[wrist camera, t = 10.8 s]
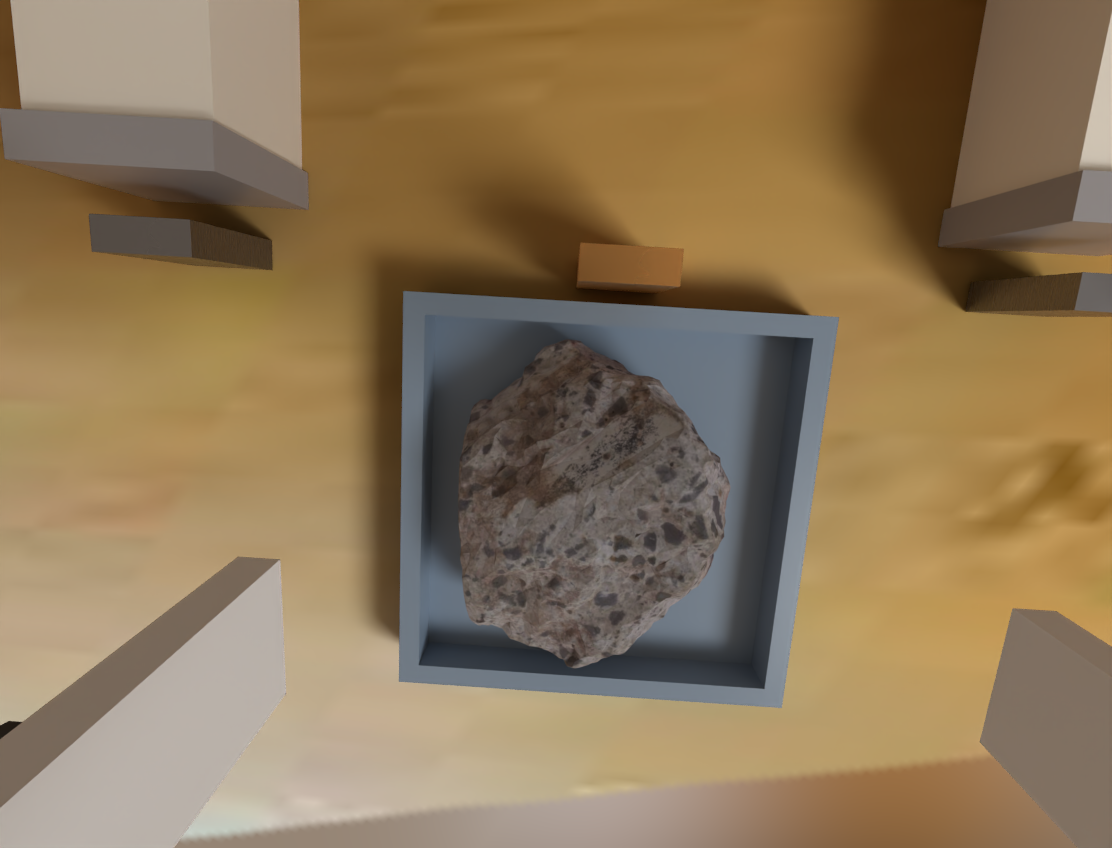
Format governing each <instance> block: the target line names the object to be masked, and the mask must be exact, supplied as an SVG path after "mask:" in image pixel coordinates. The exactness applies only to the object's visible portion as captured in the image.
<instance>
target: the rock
mask: <svg viewBox="0 0 1112 848" xmlns="http://www.w3.org/2000/svg"><path fill="white" fill-rule="evenodd" d="M730 488H731V487H730V483H729V480H728V478H727V476H726V474H725V472H724V470H723V468H722V466H721V460H720V457H719V456H718V455H716V454H715V453H713V452H711V451H710V450H709V449H708V447H707V446H706V444H705V443H704V441H703V440H702V439H701V437H700V436H699V435H698V433H697V431H696V429H695V427H694V425H693V423H692V421H691V420H690V418H689V417H688V416H687V414H686V413H685V412H684V411H683V410H682V409H681V408H680V407H679V406H678V405H677V403H676V401H675V400H674V398H673V396H672V395H671V394H669V393H668V391H667V390H666V389H665V388H664V387H663V385H662V383H661V382H660V380H658V379H655V378H653V377H650V376H641V375H635V374H633V373H631V372H629V371H628V370H627V369H626V368H625V367H624V365H623V364H621V363H619V362H618V361H616V360H613V359H610V358H608V357H606V356H605V355H602V354H599V353H596V352H594V351H593V350H591V349H590V348H589V347H587V346H585V345H584V344H583V343H582V342H581V341H579V340H569V339H566V340H563V341H560V342H558V343H555V344H552V345H549V346H545V347H544V348H543V349H542V350H540V351H539V352H538V353H537V354H536V356H535V359H534V361H533V362H531V363H530V364H529V365H527V366H526V367H525V369H524V372H523V376H522V377H521V378H519V379H517V380H515V381H514V382H513V383H512V384H511V385H510V386H508V387H507V388H505V389H503V390H502V391H501V392H500V393H498V394H497V395H496V396H495V397H494V398H493V399H492V400H489V399H482V400H480V401H478V402H477V403H476V404H475V405H474V406H473V408H472V410H471V415H470V420H469V423H468V425H467V428H466V432H465V435H464V441H463V448H462V453H461V457H460V463H459V488H458V508H459V510H458V522H459V535H460V543H461V553H460V561H461V565H462V583H463V593H464V599H465V604H466V609H467V612H468V615H469V618H470V620H471V621H472V622H474V623H475V624H477V625H479V626H480V625H488V626H489V625H494V626H496V627H499V628H502V629H503V630H504V631H505V633H506V634H507V635H508V637H509V638H510V639H513V640H516V641H519V642H521V643H524V644H526V645H528V646H535V647H539V648H542V649H545V650H547V651H549V652H551V653H553V654H554V655H556V656H557V657H558V658H560V659H563V660H564V662H565V664H566V666H568V667H571V668H579V667H583V666H587V665H589V664H591V663H595V662H598V661H599V660H600V659H602V658H607V657H610V656H612V655H621V654H623V653H625V652H626V651H627V650H628V649H629V648H630V647H631V646H632V644H633V643H634V642H635V641H636V640H637V639H638V638H639V637H640V636H642V635H643V634H644V633H645V632H646V631H647V630H649V629H650V628H651V626H652V624H653V623H654V622H656V621H658V620H660V619H662V618H663V617H664V616H665V614H666V613H667V611H668V609H669V608H670V606H672V605H673V604H675V603H677V602H678V601H679V600H681V599H682V598H683V597H684V596H686V595H687V594H688V593H689V592H690V591H691V590H693V589H694V588H696V587H698V586H699V584H700V583H701V581H702V579H703V578H704V577H705V576H706V575H707V573H708V570H709V569H710V567H711V564H712V561H713V559H714V552H716V551H717V549H718V547H719V544H720V542H721V541H722V539H723V538H724V527H725V523H726V520H725V509H726V501H727V498H728V495H729V492H730Z"/></svg>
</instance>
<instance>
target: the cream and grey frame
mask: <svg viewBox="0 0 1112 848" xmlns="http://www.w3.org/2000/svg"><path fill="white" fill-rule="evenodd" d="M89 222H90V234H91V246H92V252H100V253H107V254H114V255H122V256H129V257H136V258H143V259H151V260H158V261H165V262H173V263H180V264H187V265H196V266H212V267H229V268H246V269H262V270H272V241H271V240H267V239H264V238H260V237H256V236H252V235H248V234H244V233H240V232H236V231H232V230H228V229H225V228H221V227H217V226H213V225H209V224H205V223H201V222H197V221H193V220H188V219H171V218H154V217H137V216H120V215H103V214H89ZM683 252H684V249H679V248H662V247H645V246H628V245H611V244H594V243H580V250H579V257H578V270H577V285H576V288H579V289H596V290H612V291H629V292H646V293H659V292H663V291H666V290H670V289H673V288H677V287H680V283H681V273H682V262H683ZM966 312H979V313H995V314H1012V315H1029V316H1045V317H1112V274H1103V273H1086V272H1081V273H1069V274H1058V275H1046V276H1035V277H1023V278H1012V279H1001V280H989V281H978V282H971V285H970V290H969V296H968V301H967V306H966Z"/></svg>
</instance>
